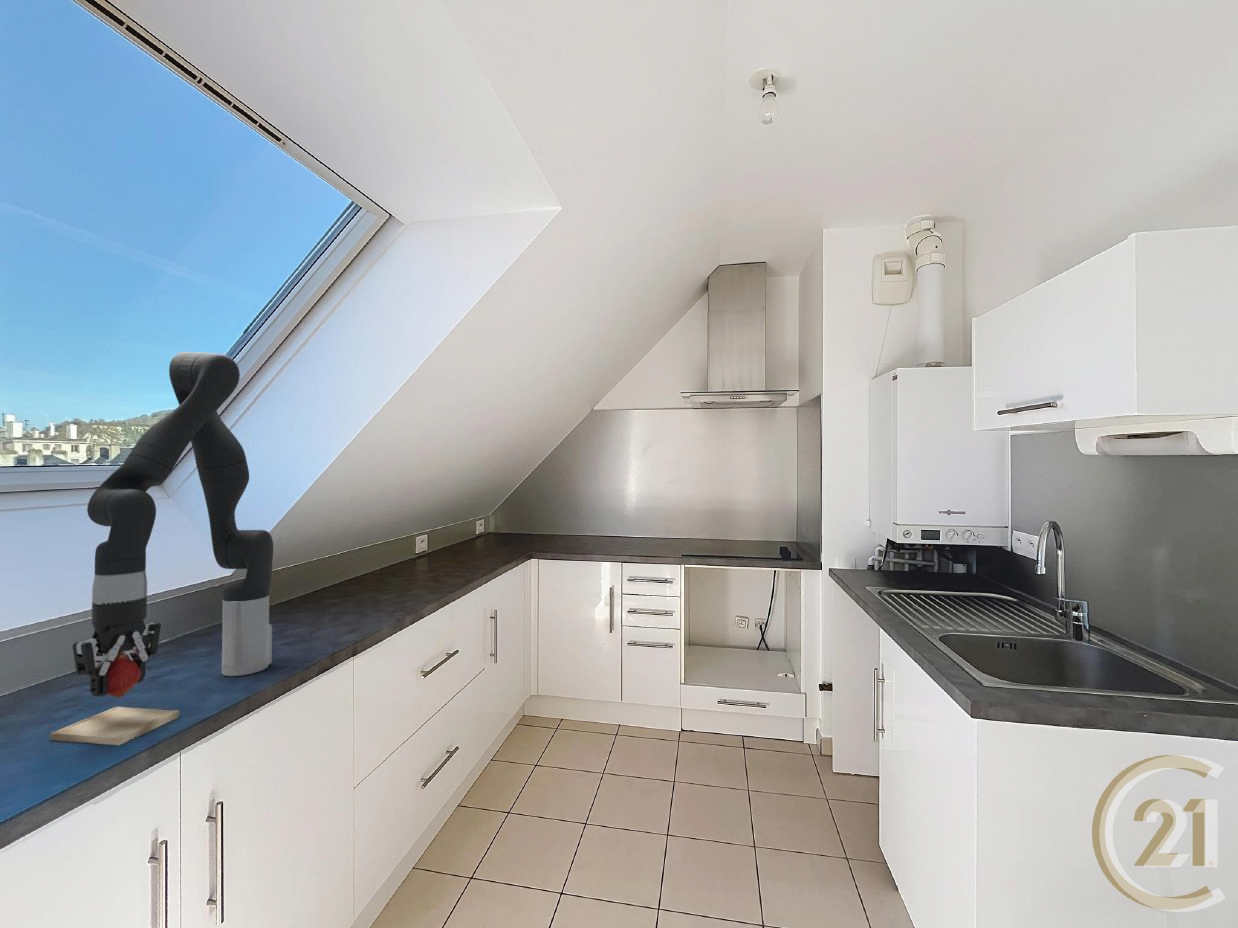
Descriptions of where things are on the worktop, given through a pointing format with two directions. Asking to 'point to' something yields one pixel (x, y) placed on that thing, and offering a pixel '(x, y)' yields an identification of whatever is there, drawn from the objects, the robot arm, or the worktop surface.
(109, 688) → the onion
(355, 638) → the worktop surface
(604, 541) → the worktop surface
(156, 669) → the worktop surface
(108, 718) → the board
